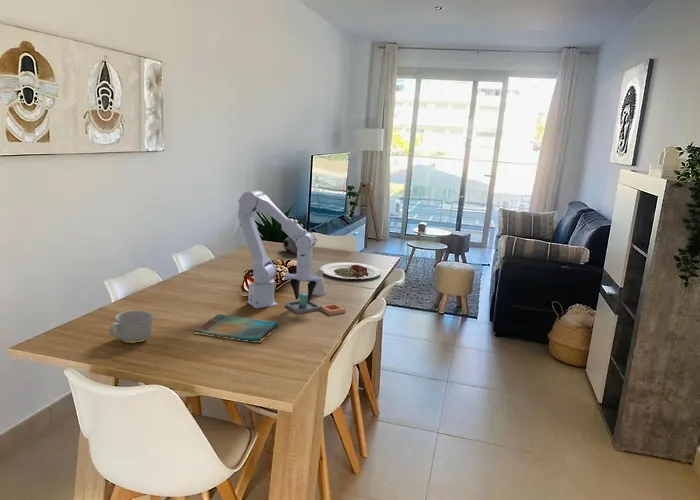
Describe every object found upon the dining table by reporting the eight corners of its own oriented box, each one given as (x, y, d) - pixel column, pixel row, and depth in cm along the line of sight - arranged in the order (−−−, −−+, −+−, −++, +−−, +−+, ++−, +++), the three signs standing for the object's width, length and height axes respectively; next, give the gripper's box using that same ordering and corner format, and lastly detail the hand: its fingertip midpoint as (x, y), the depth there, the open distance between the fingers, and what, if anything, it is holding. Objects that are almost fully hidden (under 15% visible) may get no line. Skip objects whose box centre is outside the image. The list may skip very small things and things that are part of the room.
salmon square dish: (329, 316, 192) (329, 311, 191) (320, 310, 197) (320, 305, 197) (345, 313, 196) (345, 308, 195) (335, 307, 201) (335, 303, 201)
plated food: (313, 278, 241) (313, 271, 241) (327, 263, 270) (327, 257, 270) (376, 284, 237) (377, 277, 236) (384, 269, 265) (384, 262, 265)
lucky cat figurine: (308, 248, 301) (319, 227, 294) (310, 262, 290) (321, 241, 283) (281, 241, 295) (291, 219, 288) (282, 255, 285) (292, 232, 277)
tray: (297, 314, 192) (297, 310, 191) (285, 306, 200) (285, 302, 199) (320, 310, 197) (320, 307, 197) (308, 303, 205) (308, 299, 205)
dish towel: (261, 345, 164) (261, 338, 163) (193, 336, 168) (193, 328, 168) (279, 326, 180) (279, 320, 179) (217, 318, 185) (217, 312, 184)
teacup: (142, 330, 169) (141, 307, 167) (160, 340, 162) (159, 316, 160) (99, 342, 158) (98, 317, 156) (116, 353, 151) (115, 327, 150)
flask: (324, 297, 214) (325, 273, 212) (307, 295, 215) (308, 272, 213) (329, 292, 221) (330, 269, 219) (312, 290, 222) (313, 268, 220)
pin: (301, 308, 196) (301, 296, 195) (297, 306, 199) (298, 293, 198) (308, 307, 198) (308, 295, 197) (304, 305, 200) (305, 293, 199)
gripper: (325, 264, 197) (324, 298, 200) (289, 260, 200) (288, 294, 203) (320, 268, 190) (319, 303, 193) (283, 264, 193) (282, 299, 196)
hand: (303, 299), depth 198 cm, fingers open, 4 cm apart
